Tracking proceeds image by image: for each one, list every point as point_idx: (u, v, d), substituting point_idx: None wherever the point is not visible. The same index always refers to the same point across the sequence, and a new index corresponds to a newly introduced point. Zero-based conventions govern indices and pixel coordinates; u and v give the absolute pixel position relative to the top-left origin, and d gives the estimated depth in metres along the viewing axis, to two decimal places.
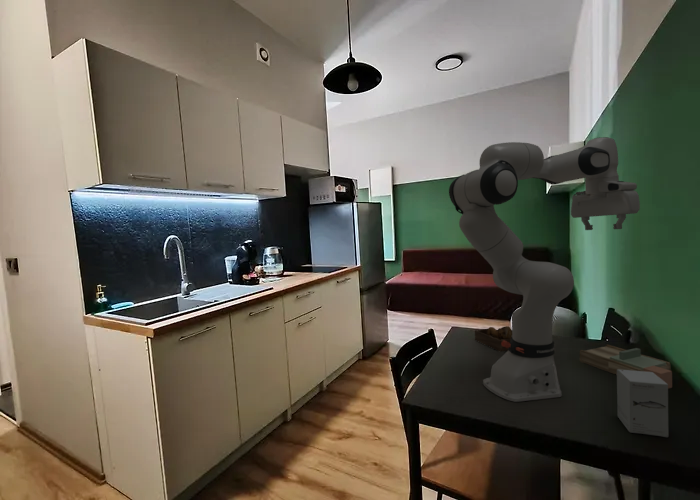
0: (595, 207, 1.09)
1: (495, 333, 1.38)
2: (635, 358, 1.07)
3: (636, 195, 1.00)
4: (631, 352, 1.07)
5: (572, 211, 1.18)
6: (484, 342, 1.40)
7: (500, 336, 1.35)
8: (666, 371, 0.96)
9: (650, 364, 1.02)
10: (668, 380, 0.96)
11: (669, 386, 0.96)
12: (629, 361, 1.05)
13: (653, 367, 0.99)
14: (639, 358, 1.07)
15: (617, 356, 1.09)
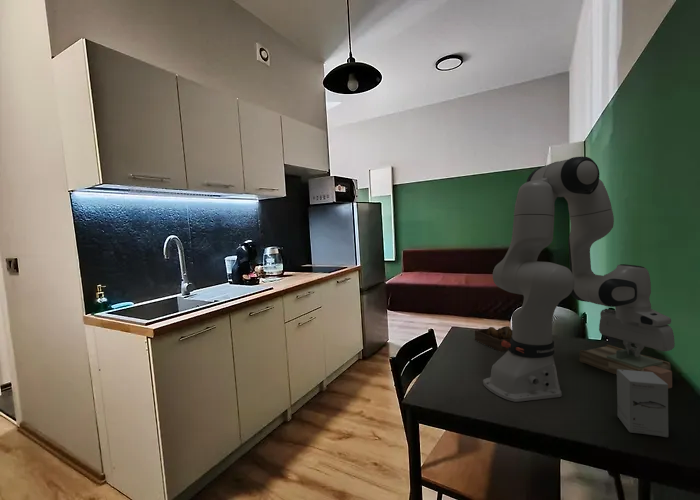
0: (626, 333, 1.07)
1: (495, 333, 1.38)
2: (632, 357, 1.08)
3: (671, 332, 0.98)
4: None
5: (600, 328, 1.15)
6: (484, 342, 1.40)
7: (500, 336, 1.35)
8: (666, 371, 0.96)
9: (647, 363, 1.03)
10: (668, 380, 0.96)
11: (669, 386, 0.96)
12: (626, 360, 1.06)
13: (653, 367, 0.99)
14: (636, 357, 1.08)
15: (614, 355, 1.10)
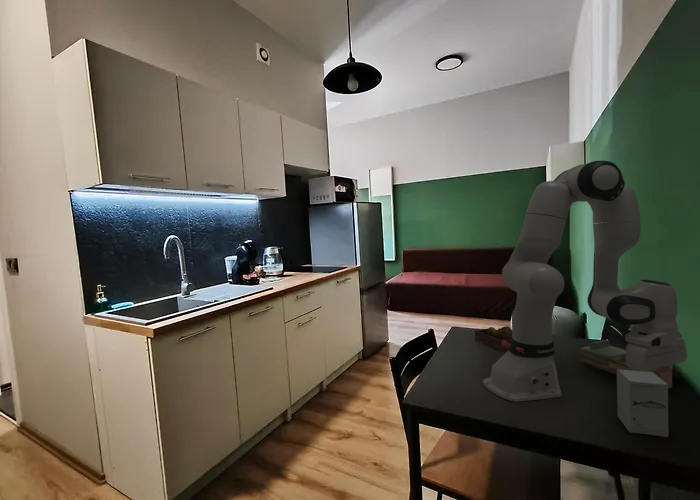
0: None
1: (495, 333, 1.38)
2: (604, 348, 1.17)
3: (638, 353, 0.93)
4: (600, 343, 1.17)
5: None
6: (484, 342, 1.40)
7: (500, 336, 1.35)
8: (666, 371, 0.96)
9: (616, 353, 1.12)
10: (668, 380, 0.96)
11: (669, 386, 0.96)
12: (598, 351, 1.14)
13: None
14: (607, 348, 1.16)
15: (588, 347, 1.19)
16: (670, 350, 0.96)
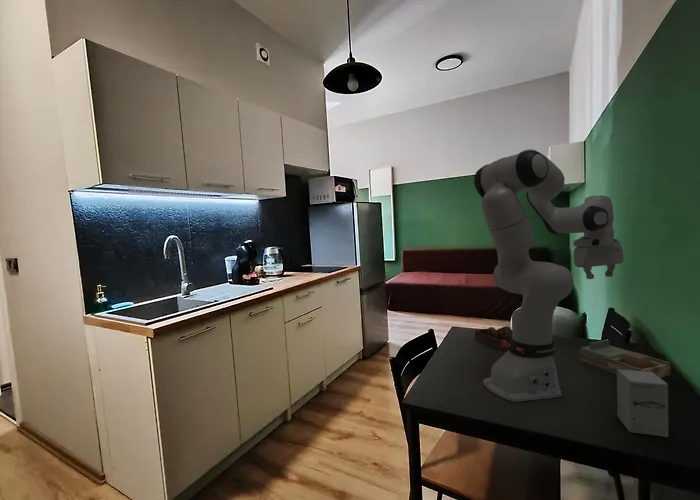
0: None
1: (495, 333, 1.38)
2: (604, 348, 1.17)
3: (582, 252, 1.17)
4: (600, 343, 1.17)
5: None
6: (484, 342, 1.40)
7: (500, 336, 1.35)
8: (644, 356, 1.05)
9: (616, 353, 1.12)
10: (646, 365, 1.04)
11: None
12: (598, 351, 1.14)
13: (633, 353, 1.08)
14: (607, 348, 1.16)
15: (588, 347, 1.19)
16: (609, 252, 1.20)
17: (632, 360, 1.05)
